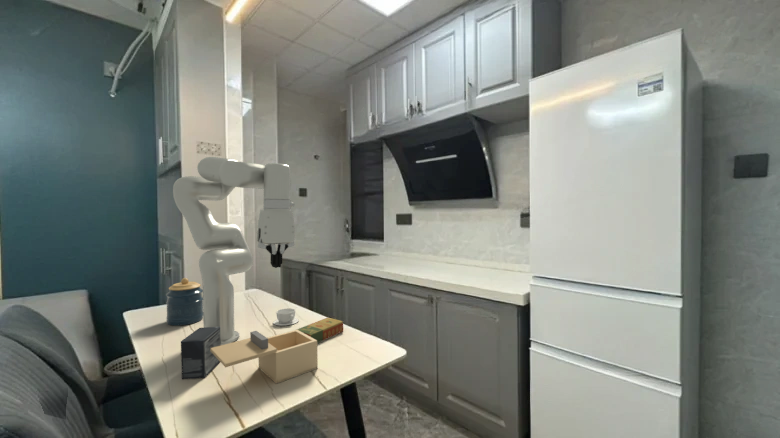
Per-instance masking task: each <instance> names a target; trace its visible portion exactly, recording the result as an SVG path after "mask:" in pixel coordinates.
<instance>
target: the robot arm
mask: <svg viewBox="0 0 780 438" xmlns="http://www.w3.org/2000/svg"><path fill="white" fill-rule="evenodd" d="M196 168H197V169H196V170H197V173H198V174H199V176H192V175H191V176H183V177H180V178H178V179H176V180H175V182H174V183H173V186H172V196H173V200H174V202H175V206H176V207H177V209H178V210H179V212H180V213H181V214H182V216H183V217H184V219H185V221H186V224H187V227H188V228H189V231H190V234H191V236H192V239H193V241H194V243H195V245H196V247H197V248H198V249H200V250H203V251H205V252H203V253H202V254H201V255H200V257H199V260H198V268H199V272H200V276H201V282H202V289H203V292H202V297H203V319H202V321H203V322H202V323H203V328H205V327H220V339H221V345H225V344H228V343H232V342H236V341H238V339H239V338H240V332H239V331H236V330H235V289H234V285H233V283H232V282H231V281H230V279H229V278H228V276H232V275H236V274H243V273H245V272H246V273H247V272H248V271H249V270H250V269H251V268H252V267H253V265H254V259H253V254H252V251H251V249H250V247H249V244H248V243H247V239H246V238H245V235H244V234H243V231H242V230H241V228H240V227H239V226H238V225H237V224H235V223H232V222H218V221H216V219H215V218H214V215H213V213H212V211H211V210H210V209H209V208H208V207H207V206H206V205H204V204H203V203H202V202H200V201H215V202H217V201H222V200H223V201H224V199H227V197H228V196H229V195H230V194H231V192H232V191H234V189H235V188H241V189H258V190H263V209H260V211H259V215H258V221H257V230H256V231H257V232H256V240H257V242H258V243H257V248H259V249H262V250H266V251H267V252H268V253H269V254H270V265H271V267H272V268H275V269H276V268H282V265H283V255H284V253H285V251H286V250H287V249H289V248H292V247H294V246H295V238H296V233H295V231H296V230H295V229H296V228H295V219H294V214H293V210H291V208H292V207H295V202H294V201H293V202H292V200H291V173H292V172H291V167H290V166H289V165H288V164H284V163H275V162H274V163H271V162H270V163H266V164H261V163H254V162H247V161H246V162H245V161H238V160H237V159H234V158H233V159H232V158H224V157H216V156H209V157H205V158H202V159H201V160H199V162H198V164H197V167H196ZM276 245H277V247H276Z"/></svg>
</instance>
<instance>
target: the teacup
mask: <svg viewBox="0 0 780 438" xmlns="http://www.w3.org/2000/svg"><path fill="white" fill-rule="evenodd" d="M275 313H276V318H277V319H275V320H274V321H273V322H272V324H273V325H275V326H279V327H280V326H283V327H285V326H291V325H294V324H296V323H299V321H300V320H299V318H297V317H296V309H294V308H291V307H290V308H280V309H278V310H276V312H275Z"/></svg>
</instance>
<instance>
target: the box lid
mask: <svg viewBox="0 0 780 438" xmlns="http://www.w3.org/2000/svg"><path fill="white" fill-rule="evenodd" d="M249 332H250V337H249V338H245V339H240V340H236V341H234V342H232V343H228V344H225V345H221V346H217V347H213V348H210V349H211V352H212V353H213V354H214V356H215V357H216V358H217V359H218V360H219V361H220V363H221V364H222V365H223V366H224V368H228V367H229V368H230V367H232V366H235V365H238V364H242V363H245V362H249V361H251V360H256V359H258V358H259V357H262V356H265V355H269V354H272V353H275V352H277V349H276V348H275V347H274V346H272V345H271V344H269V343H268V338H267V337H266V336H265V335H263V334H262V333H261V332H259V331H258V330H253V331H249Z"/></svg>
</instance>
